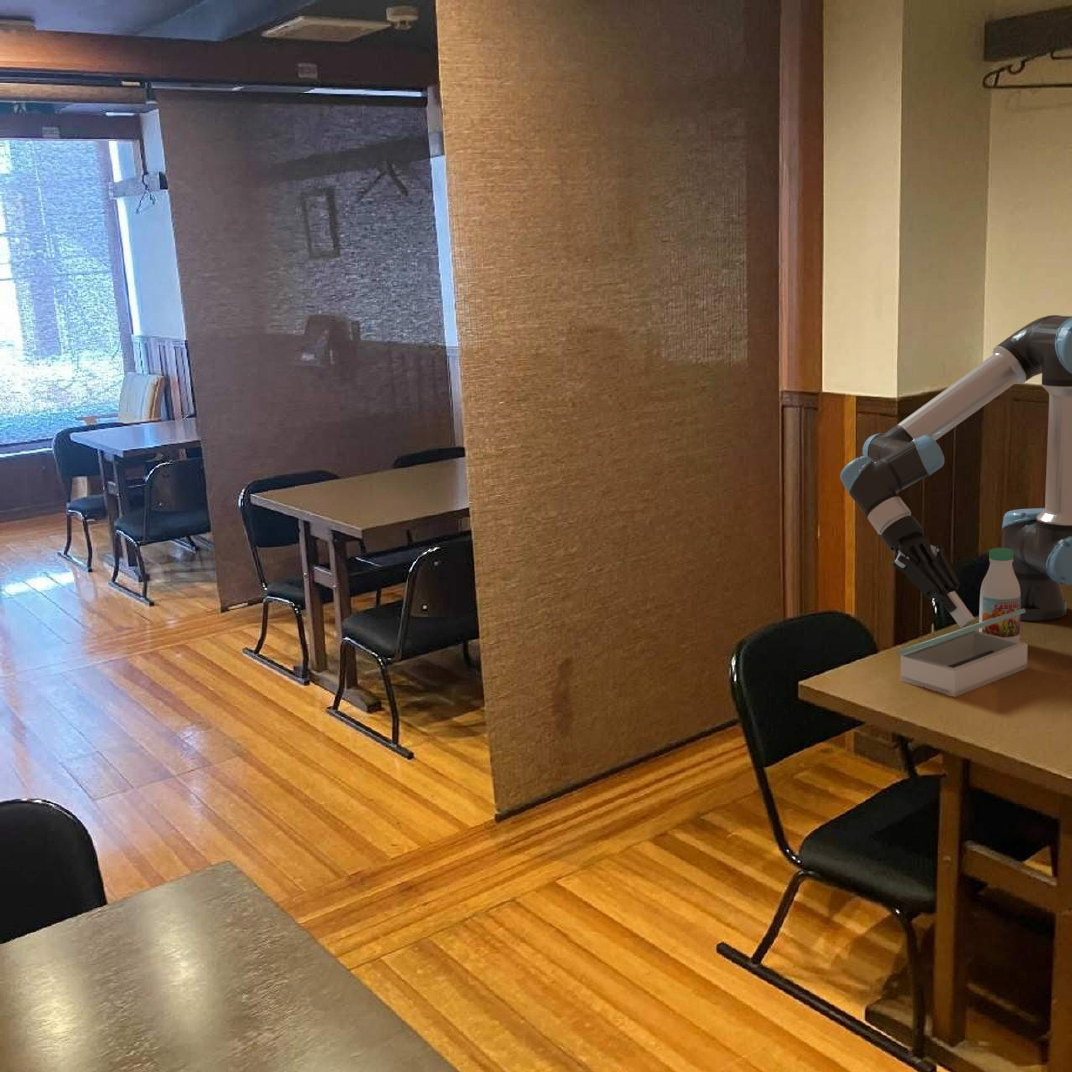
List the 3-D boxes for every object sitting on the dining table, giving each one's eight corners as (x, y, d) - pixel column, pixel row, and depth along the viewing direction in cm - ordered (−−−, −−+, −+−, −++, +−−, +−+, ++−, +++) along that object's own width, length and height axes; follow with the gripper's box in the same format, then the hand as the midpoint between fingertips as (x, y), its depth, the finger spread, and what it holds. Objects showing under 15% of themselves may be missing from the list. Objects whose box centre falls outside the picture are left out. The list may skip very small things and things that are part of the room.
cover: (974, 628, 230) (972, 624, 230) (1025, 612, 219) (1024, 608, 219) (898, 655, 217) (896, 651, 217) (949, 639, 207) (947, 635, 207)
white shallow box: (972, 653, 230) (973, 630, 229) (1026, 668, 221) (1027, 643, 219) (900, 680, 219) (900, 655, 218) (954, 697, 209) (954, 671, 208)
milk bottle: (970, 643, 237) (972, 549, 232) (998, 636, 240) (1000, 543, 235) (999, 653, 230) (1002, 556, 225) (1027, 646, 233) (1031, 550, 228)
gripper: (907, 531, 233) (977, 626, 223) (863, 542, 226) (933, 641, 216) (928, 508, 227) (1002, 605, 217) (884, 519, 220) (958, 620, 210)
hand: (967, 623), depth 216 cm, fingers closed
